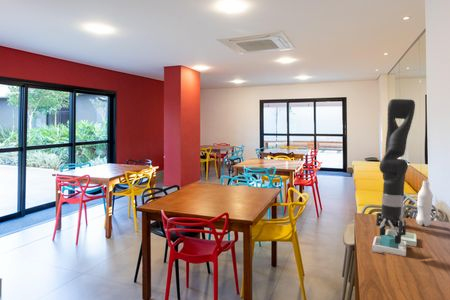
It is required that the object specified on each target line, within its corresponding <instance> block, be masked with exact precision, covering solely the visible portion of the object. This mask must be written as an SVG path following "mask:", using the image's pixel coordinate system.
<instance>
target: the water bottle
mask: <svg viewBox="0 0 450 300" xmlns="http://www.w3.org/2000/svg"><path fill="white" fill-rule="evenodd" d="M421 185H422V186H421V188H420V190H419V191H418V192H417V202H416V203H417V204H416V207H417V214H416V217H415V221H416V223H417V225H419V226H423V225H424V227H430V226H431V223H432V217H431V213H432V209H433V198H434V195H433V193H432V190H431V189H430V181H429V180H422V184H421Z"/></svg>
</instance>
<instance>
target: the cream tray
mask: <svg viewBox="0 0 450 300" xmlns="http://www.w3.org/2000/svg"><path fill="white" fill-rule="evenodd" d="M380 241H381V237H380V236H374V238H373V242H372V248H371V252H374V253H376V254H377V253H378V254H382V255H383V254H384V255H386V253H387V254H391V255H395V256H396V255H397V256H402V257H406V256H407V245H406V242H405V241H401V243H400V244H399V248H398V249H396V248H390V247H385V246H380Z"/></svg>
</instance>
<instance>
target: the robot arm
mask: <svg viewBox="0 0 450 300" xmlns="http://www.w3.org/2000/svg"><path fill="white" fill-rule="evenodd" d="M415 109H416V102H415V101H414V99H408V98H407V99H401V98H397V99H396V98H392V99H390V100H389V102H388V105H387V126H386V128H387V131H386V137H385V138H386V139H385V153H384V156H383V157H382V159H381V161H380V163H379V171H380V172H381V173H382V179H383V187H382V189H383V191H382V195H381V197H382V199H381V212H377V213H376V223H375V224H376V226H377V227H378V228H379V237H381V235H385V234H386V228H387V227H389V228H391V230H393V231H394V232H395V244H400V243H401V236H402V235H406V232H407V231H406V230H407V222H406V220H404V198H405V197H404V195H405V194H404V193H405V182H406V181H405V180H406V173H407V172H408V168H409V164H408V162H407V161H406V159H402V157H403V156H405V152H406V148H407V143H408V142H407V141H408V136H409V133H410V130H411V127H412V126H411V125H412V123H413V120H414V115H415ZM396 119H398V120H403V122H402V123H401V124H400V125H398V123H397V120H396ZM397 231H398V232H397Z"/></svg>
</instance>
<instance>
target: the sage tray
mask: <svg viewBox="0 0 450 300" xmlns="http://www.w3.org/2000/svg"><path fill="white" fill-rule="evenodd" d="M397 232H398V231H397ZM385 235H392V236H394V237H395V232H394V231H393V230H392V229H388V228H385ZM401 241H405V242H406V246H411V247H417V234H416V233H412V232H407V231H406V235H402V236H401Z"/></svg>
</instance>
